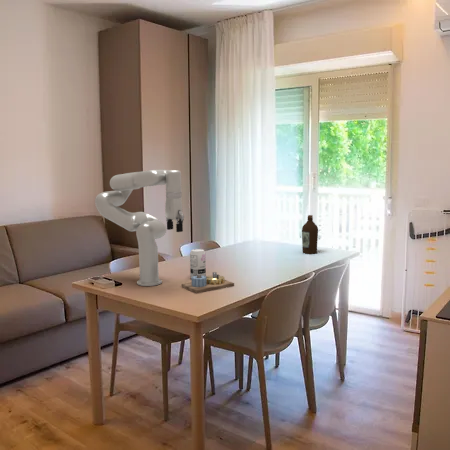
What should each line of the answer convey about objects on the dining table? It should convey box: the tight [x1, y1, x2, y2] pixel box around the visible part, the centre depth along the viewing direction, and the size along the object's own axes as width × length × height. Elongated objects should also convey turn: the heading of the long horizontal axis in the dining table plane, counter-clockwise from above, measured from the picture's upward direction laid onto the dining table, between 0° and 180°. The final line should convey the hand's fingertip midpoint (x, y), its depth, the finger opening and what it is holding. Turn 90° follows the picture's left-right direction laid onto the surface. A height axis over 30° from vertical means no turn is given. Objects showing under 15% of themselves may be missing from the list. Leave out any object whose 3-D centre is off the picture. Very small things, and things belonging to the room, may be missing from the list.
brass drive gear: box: [206, 271, 226, 285], centre depth 243 cm, size 10×10×5 cm
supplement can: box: [189, 248, 207, 279], centre depth 258 cm, size 8×8×15 cm
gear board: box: [181, 275, 235, 294], centre depth 241 cm, size 14×22×6 cm, turn 124°
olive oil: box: [301, 214, 319, 255], centre depth 321 cm, size 11×11×25 cm
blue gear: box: [191, 275, 207, 287], centre depth 238 cm, size 7×7×4 cm
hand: (174, 230), depth 238 cm, fingers open, 9 cm apart
